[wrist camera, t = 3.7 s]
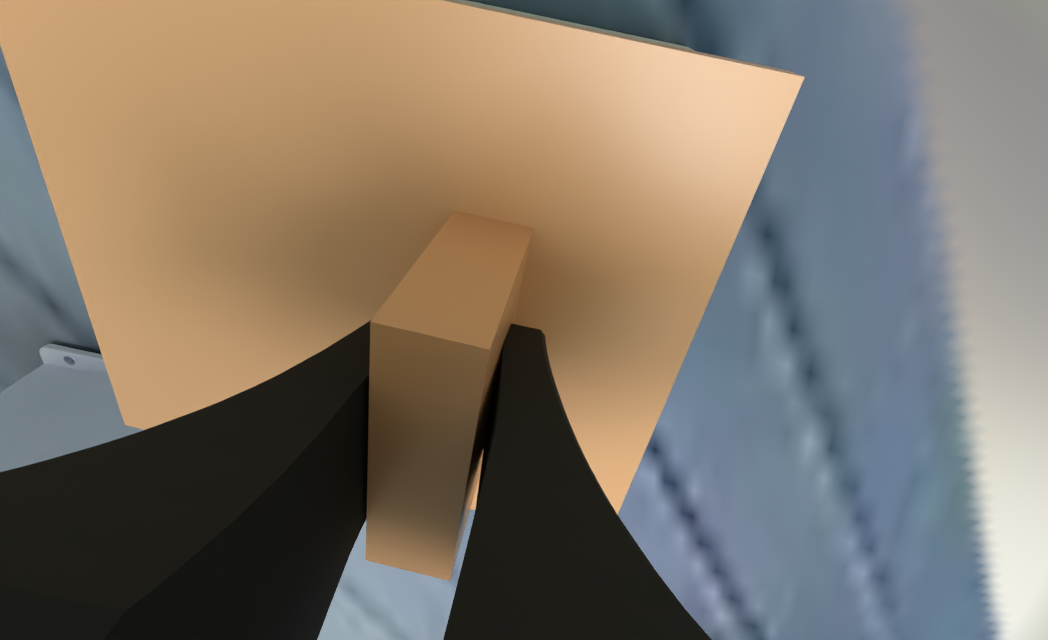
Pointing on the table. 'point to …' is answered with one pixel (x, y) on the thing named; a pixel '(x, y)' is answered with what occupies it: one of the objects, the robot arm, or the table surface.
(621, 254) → the lid
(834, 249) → the table surface
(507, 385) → the robot arm
